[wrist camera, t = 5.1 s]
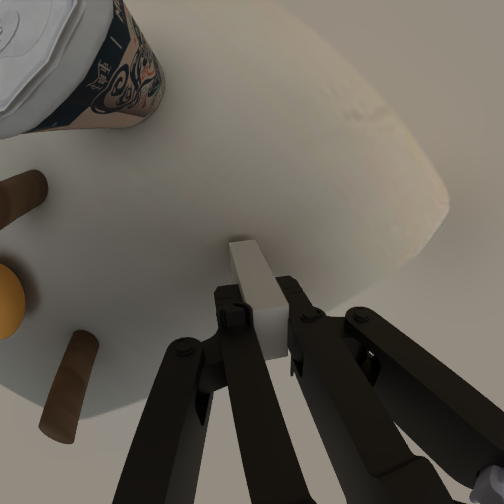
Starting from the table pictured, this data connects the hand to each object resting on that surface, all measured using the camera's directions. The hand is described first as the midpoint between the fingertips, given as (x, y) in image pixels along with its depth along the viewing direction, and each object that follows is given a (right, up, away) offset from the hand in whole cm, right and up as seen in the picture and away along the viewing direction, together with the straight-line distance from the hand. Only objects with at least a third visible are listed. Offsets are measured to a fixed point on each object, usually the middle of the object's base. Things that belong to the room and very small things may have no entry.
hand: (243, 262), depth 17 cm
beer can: (-7, +10, -3) cm, 12 cm away
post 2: (-13, -6, +2) cm, 15 cm away
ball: (-18, -3, -3) cm, 18 cm away
